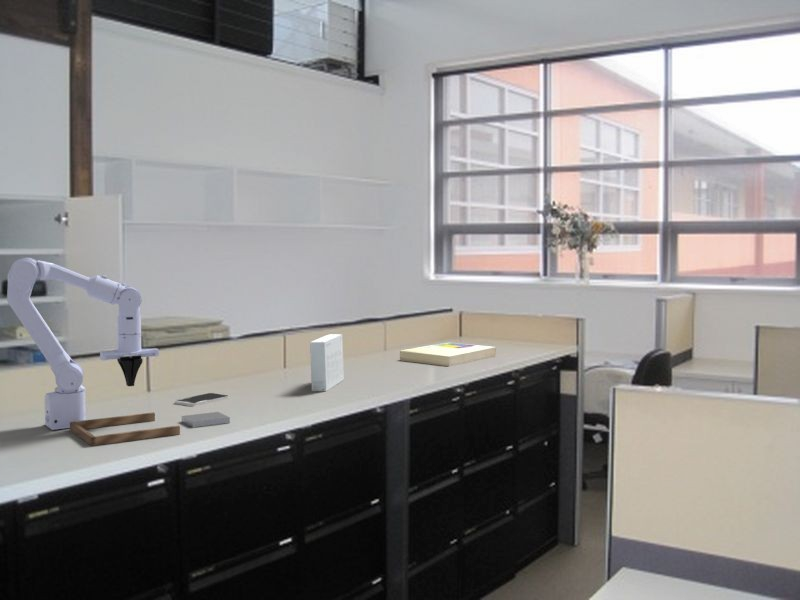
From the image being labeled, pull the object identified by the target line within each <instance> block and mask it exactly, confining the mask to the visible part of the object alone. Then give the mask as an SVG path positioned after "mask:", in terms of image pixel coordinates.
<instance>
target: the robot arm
mask: <svg viewBox="0 0 800 600" xmlns="http://www.w3.org/2000/svg"><path fill="white" fill-rule="evenodd" d="M39 278H40V279H39ZM38 280H40V281H46V280H47V281H48V280H56V281H59V282H62V283H65V284H67V285H68V284H69V285H71V286H74V287H78V288H81V289H83V290H85V291H86V293H87V295H88V297H90V298H93V299H97V300H98V301H102V302H105V303H106V304H107V303H108V304H110V305H116V304H117V305H118V315H117V343H118V344H117V349H116V350H109V351H107V350H106V351H100V353H99V359H100V361H107V360H108V361H109V360H117V363H118V364H119V366H120V369H121V370H122V373H123V376H124V380H125V384H126V386H127V387H134V386H135V382H136V378H137V375H138V372H139V370H140V367H141V365H142V364H143V358H149V357H159V356H160V355H159V353H160V351H159V348H156V347H154V348H142V316H141V312H142V311H141V308H140V306H141V305H142V301H143V299H142V296H141V293H140V292H139V291H138V290H137V289H136V288H134V287H133V286H130V285H128V286H127V284H126V283H125V282H121V283H120V282H118V281H115V280H111V279H109V278H108V276H107V275H104V274H102V275H101V276H100V275H98V274H97V275H94V276H92V277H88V276H86V275H84V274H81V273H79V272H77V271H74V270H71V269H68V268H66V267H63V266H61V265H59V264H56V263H53V262H49V261H44V260H39V259H38V260H37V259H35V258H33V257H23V258H19V259H17V260H15V261H14V262H13V263H12V265H11V267H10V269H9V271H8V273H7V289H6V290H7V293H6V300H7V303H8V305H9V306H10V308H11V309H12V310H13V312H14V314H15V316H16V317H17V318H18V321H20V323H21V324H22V326H23V327H24V329H25V331H27V333H28V334H29V337H31V339H32V340H33V342H34V343H35V345H36V346H37V348H38V349H39V351H40V352H41V354H42V355H43V357H44V358H45V360H46V361H47V362H48V365H49V367H50V369H51V371H52V373H53V374H54V378H55V384H56V387H54V391H52V392H46V393H45V395H44V425H46V426H47V428H49V429H50V430H52V431H55V430H63V429H70V422H74V421H83V420H87V417H86V416H87V414H86V413H87V412H86V408H87V407H86V387H85V386H83V385H82V384H83V380H84V374H85V373H84V370H83V367H82V366H81V365H80V364H79V363H77V362H76V361H74V360H73V359H72V358H71V356H70V355H69V353H68V352H66V351H65V349H64V347H63V346H62V344H61V343H60V341H59V340H58V338H57V337H56V336H55V334H54V333H53V331H52V330H51V328H50V327H49V325H48V324H47V322H46V321H45V320H44V319H45V318H43V316H42V315H41V313H40V312H39V310H38V308H37V307H36V306H35V305H34V302H33V301H32V299H31V295H32V291H33V288H34V285H35V284H36V282H37V281H38Z"/></svg>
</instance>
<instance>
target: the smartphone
mask: <svg viewBox="0 0 800 600" xmlns="http://www.w3.org/2000/svg"><path fill="white" fill-rule="evenodd" d="M227 399H229V395H226V394H222V393H221V394H219V393H213V392H210V393H204V394H198V395H194V396H189V397H184V398H179V399H175V400H174V404H175V405H182V406H188V407H197V406H202V405H205V404H210V403H214V402H215V403H216V402H217V401H218V402H219V401H223V400H227Z"/></svg>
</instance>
